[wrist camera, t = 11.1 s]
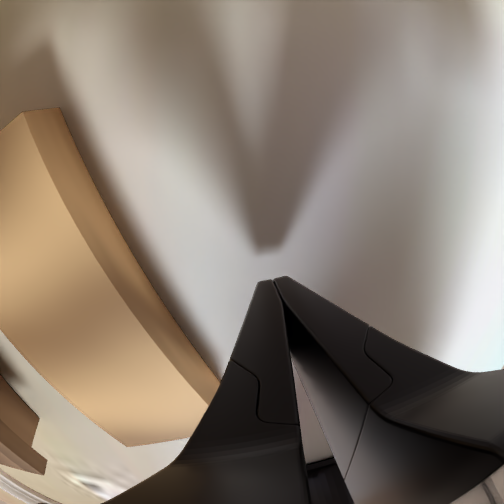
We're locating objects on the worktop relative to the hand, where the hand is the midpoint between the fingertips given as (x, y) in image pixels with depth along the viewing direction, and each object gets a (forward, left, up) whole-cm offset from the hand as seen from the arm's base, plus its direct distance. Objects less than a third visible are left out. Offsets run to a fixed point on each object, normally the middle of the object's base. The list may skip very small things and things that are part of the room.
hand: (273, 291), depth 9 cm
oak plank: (+6, 0, -2) cm, 6 cm away
